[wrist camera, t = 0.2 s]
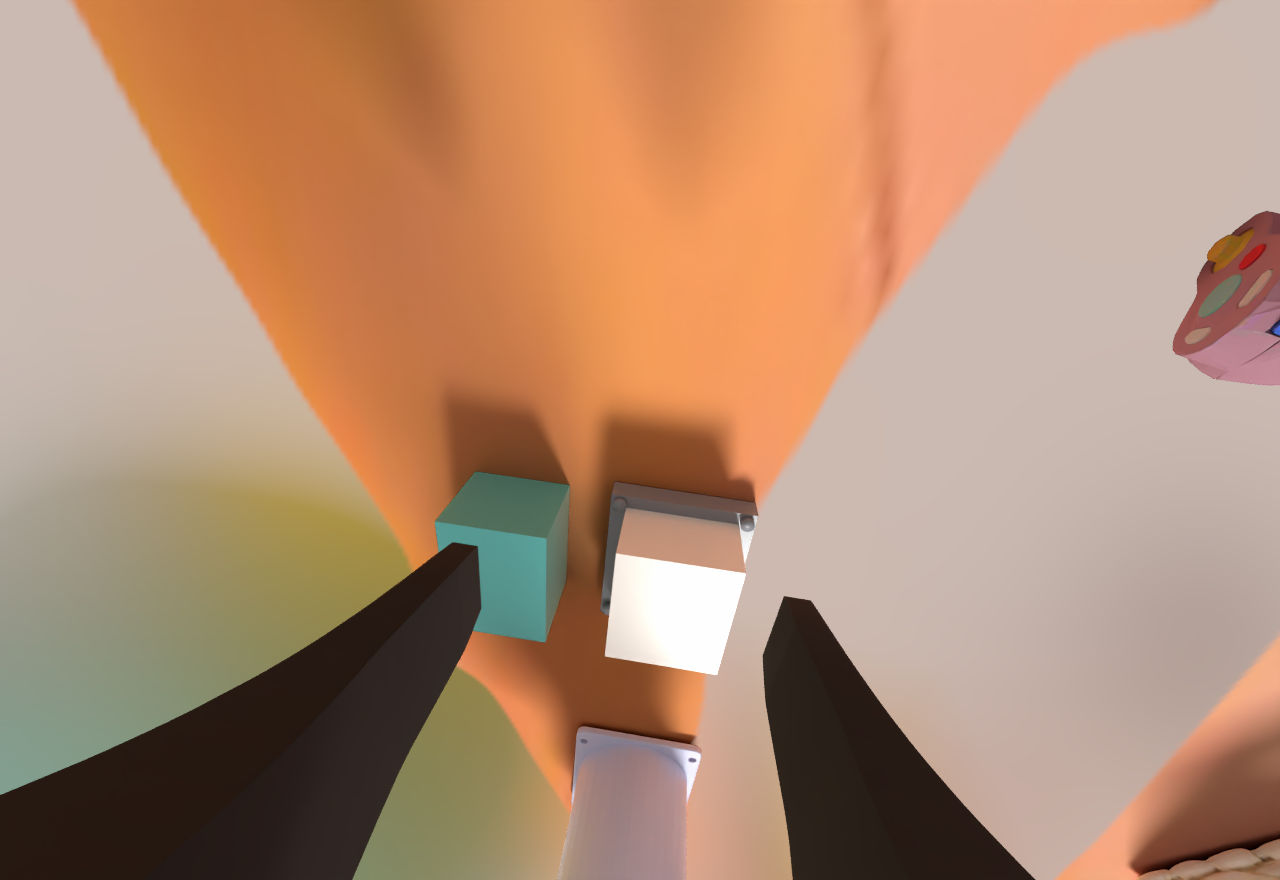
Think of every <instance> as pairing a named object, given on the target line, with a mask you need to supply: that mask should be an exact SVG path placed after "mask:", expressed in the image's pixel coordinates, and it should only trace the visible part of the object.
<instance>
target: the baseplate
mask: <svg viewBox="0 0 1280 880" xmlns="http://www.w3.org/2000/svg"><path fill="white" fill-rule="evenodd" d="M626 508H632V509H639V510H645V511H652V512H659V513H665V514H672V515H678V516H685V517H692V518H698V519H705V520H711V521H718V522H725V523H731V524H738V525H739V527H740V534H741V541H742V549H743V556H744V563H745V561H746V558H747V555H748V551H749V547H750V544H751V540H752V537H753V533H754V530H755V526H756V523H757V519H758V512H757V507H756V503H754V502H748V501H741V500H734V499H728V498H721V497H714V496H707V495H701V494H694V493H687V492H681V491H674V490H667V489H661V488H654V487H647V486H640V485H634V484H627V483H620V482H615V484H614V487H613V491H612V495H611V505H610V516H609V526H608V537H607V547H606V557H605V568H604V578H603V589H602V599H601V610H600V611H602V612H603V613H604V614H605V615H609V613H610V604H611V595H612V585H613V576H614V567H615V558H616V551H617V547H618V542H619V538H620V533H621V529H622V524H623V520H624V515H625V511H626Z"/></svg>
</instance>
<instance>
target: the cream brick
mask: <svg viewBox="0 0 1280 880" xmlns="http://www.w3.org/2000/svg"><path fill="white" fill-rule="evenodd" d="M745 575H746V571H745V563H744V556H743V549H742V541H741V534H740V527H739V525H738V524H731V523H725V522H718V521H711V520H705V519H698V518H692V517H685V516H678V515H672V514H665V513H659V512H652V511H645V510H639V509H632V508H626V511H625V515H624V520H623V524H622V529H621V533H620V538H619V542H618V547H617V551H616V558H615V567H614V576H613V585H612V595H611V604H610V613H609V622H608V631H607V640H606V650H605V656H606V657H612V658H618V659H624V660H630V661H636V662H642V663H648V664H654V665H660V666H666V667H672V668H678V669H684V670H690V671H696V672H702V673H708V674H715V675H717V672H718V669H719V665H720V662H721V658H722V655H723V651H724V648H725V644H726V641H727V637H728V634H729V631H730V627H731V624H732V620H733V616H734V613H735V609H736V606H737V602H738V599H739V596H740V592H741V589H742V585H743V582H744V579H745Z"/></svg>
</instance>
